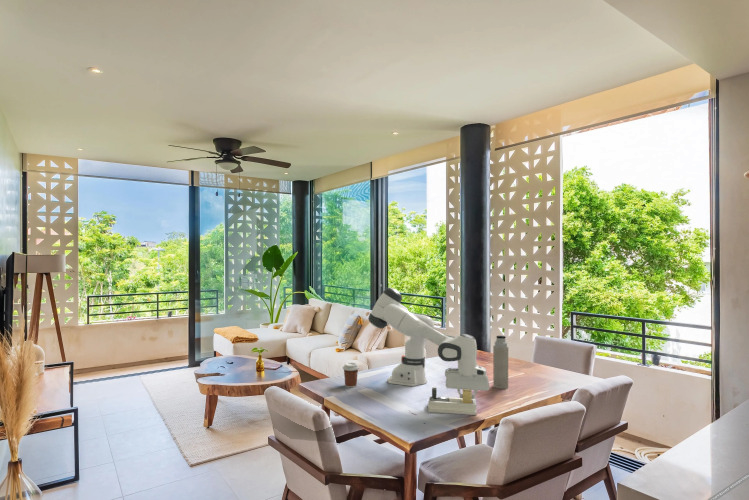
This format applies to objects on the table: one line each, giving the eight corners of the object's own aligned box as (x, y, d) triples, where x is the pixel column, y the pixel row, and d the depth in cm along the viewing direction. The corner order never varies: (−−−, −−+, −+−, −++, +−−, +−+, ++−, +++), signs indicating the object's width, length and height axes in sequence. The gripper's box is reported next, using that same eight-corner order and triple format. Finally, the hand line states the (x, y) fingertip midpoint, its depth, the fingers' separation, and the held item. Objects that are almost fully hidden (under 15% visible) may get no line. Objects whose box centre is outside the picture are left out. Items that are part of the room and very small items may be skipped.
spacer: (462, 404, 206) (462, 391, 206) (462, 401, 210) (462, 388, 210) (471, 404, 205) (471, 391, 205) (471, 401, 209) (471, 389, 209)
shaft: (430, 405, 209) (430, 389, 209) (430, 402, 213) (430, 387, 213) (449, 406, 208) (449, 390, 208) (449, 403, 211) (449, 388, 211)
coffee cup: (356, 382, 251) (356, 361, 251) (361, 387, 242) (361, 365, 243) (340, 384, 248) (340, 362, 248) (345, 389, 239) (345, 366, 239)
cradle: (428, 411, 205) (428, 403, 205) (429, 403, 217) (429, 394, 217) (476, 415, 201) (476, 406, 201) (475, 406, 213) (475, 397, 213)
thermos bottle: (491, 386, 244) (491, 336, 244) (497, 383, 250) (497, 334, 250) (504, 389, 239) (504, 338, 239) (510, 386, 245) (510, 335, 245)
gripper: (444, 369, 207) (444, 399, 207) (489, 372, 203) (489, 402, 203) (445, 366, 213) (445, 394, 213) (488, 368, 209) (488, 397, 209)
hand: (467, 398), depth 208 cm, fingers closed on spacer, 4 cm apart
